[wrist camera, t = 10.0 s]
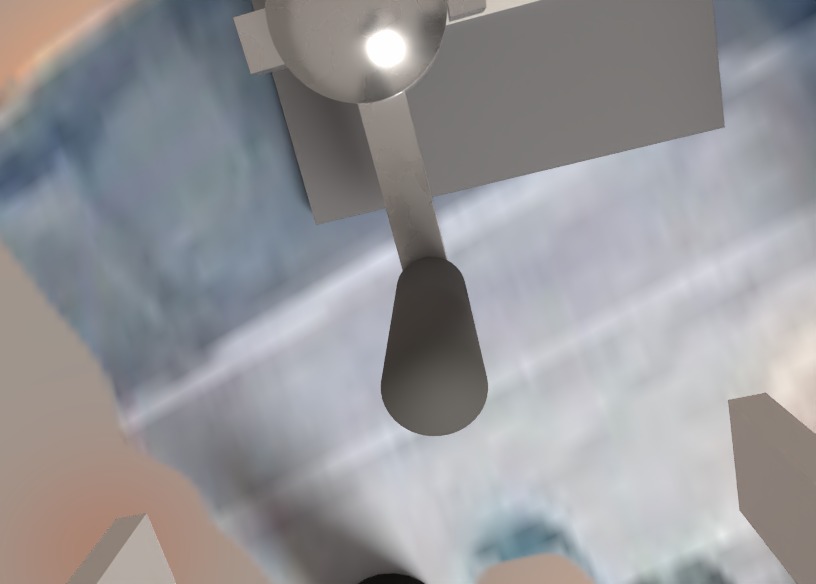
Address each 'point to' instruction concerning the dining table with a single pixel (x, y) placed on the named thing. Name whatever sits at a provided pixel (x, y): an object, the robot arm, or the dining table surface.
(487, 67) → the base plate
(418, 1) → the grey lever handle
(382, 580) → the wine bottle
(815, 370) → the dining table surface
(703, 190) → the dining table surface
